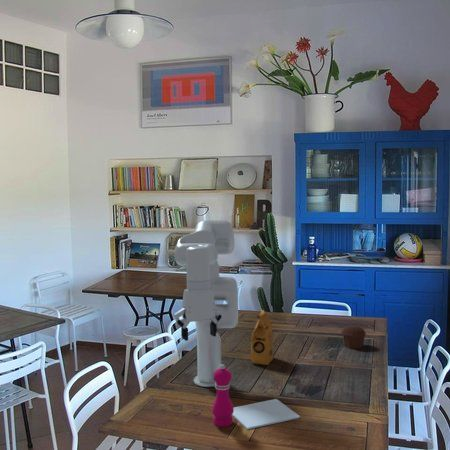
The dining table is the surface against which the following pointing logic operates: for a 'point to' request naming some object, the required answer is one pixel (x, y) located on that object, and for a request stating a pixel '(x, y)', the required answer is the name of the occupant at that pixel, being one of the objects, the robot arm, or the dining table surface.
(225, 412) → the pepper mill
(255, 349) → the coffee package
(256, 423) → the mat
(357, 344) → the muffin
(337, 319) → the dining table surface
